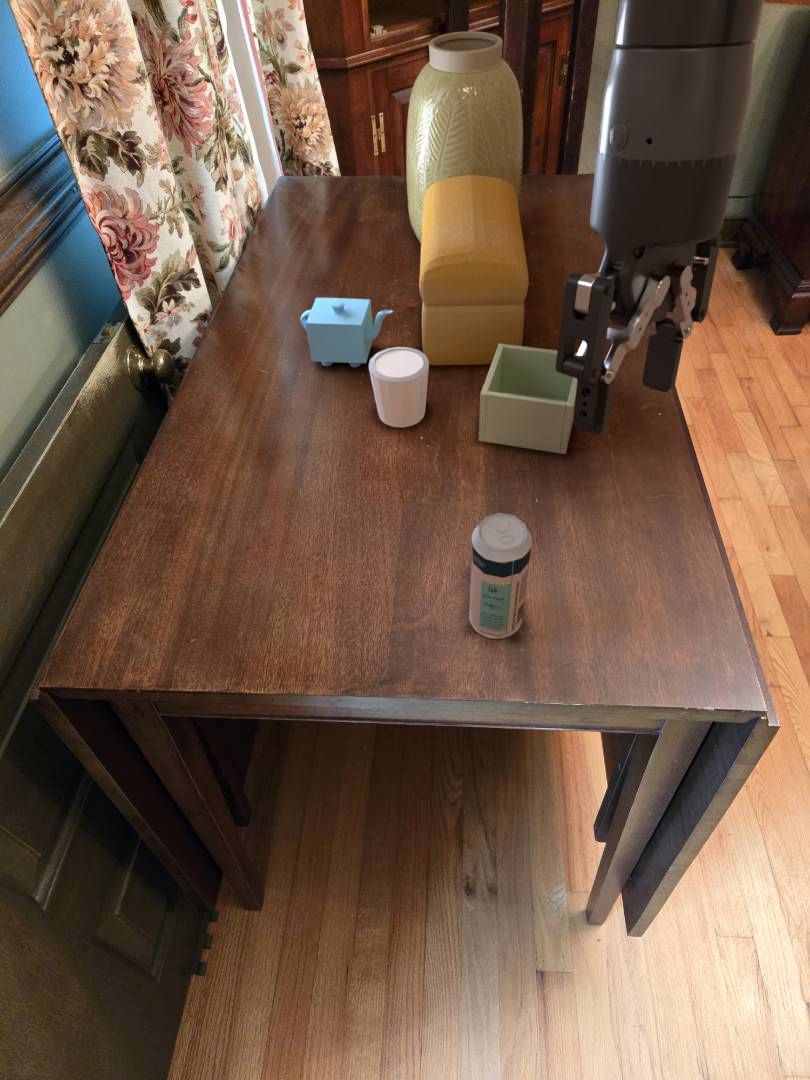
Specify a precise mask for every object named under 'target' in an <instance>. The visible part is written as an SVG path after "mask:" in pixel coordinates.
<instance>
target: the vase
mask: <svg viewBox="0 0 810 1080" xmlns="http://www.w3.org/2000/svg"><path fill="white" fill-rule="evenodd" d="M503 42H504V41H503V38H502V37H501V36H499V35H497V34H494V33H491V32H485V31H476V30H475V31H474V30H473V31H471V30H470V31H469V30H468V31H467V30H466V31H455V32H448V33H445V34H441V35H437V36H435V37H434V38H432V39H431V40H430V41H429V44H428V50H429V53H428V54H429V61H427V62H426V64H425V65H424V66H423V67H422V68H421V70H420V71H419V72H418V75H417V76H416V78H415V81H414V83H413V85H412V90H411V94H410V97H409V101H408V102H409V103H408V112H407V120H406V121H407V122H406V134H405V135H406V141H405V143H406V144H405V182H406V184H405V185H406V200H407V211H408V218H409V222H410V226H411V228H412V231H413V233H414V234H415V236H416V238H417V240H418V242H419V243H420V245H421V240H422V219H423V201H424V196H425V193H426V191H427V190H428V188H429V187H430V186H431V185H433V184H434V183H435V182H438V181H440V180H444V179H448V178H453V177H458V176H466V175H479V176H487V177H495V178H500V179H503V180H506V181H507V182H509V183H510V184H511V185H512V186H513V188H514V189H515V192H516V196H517V202H518V209H519V210H520V207H521V195H522V185H523V168H524V167H523V164H524V121H523V118H524V117H523V105H522V96H521V90H520V85H519V83H518V79H517V77H516V75H515V74H514V71H513V70H512V68H511V67H510V65H509V63H508V62H506V61H505V60H504V59H503V57H502V56H503V45H504V44H503Z"/></svg>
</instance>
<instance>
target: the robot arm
mask: <svg viewBox="0 0 810 1080" xmlns="http://www.w3.org/2000/svg"><path fill="white" fill-rule="evenodd" d="M764 3H765V0H617V7H616V16H615V26H614V33H613V34H614V35H613V44H614V46H613V47H612V52H611V56H610V57H611V58H610V62H609V63H610V64H609V67H608V72H607V76H606V81H605V85H604V88H603V89H604V90H603V94H602V100H601V101H602V102H601V110H600V120H599V130H598V140H597V148H596V155H595V166H594V176H593V184H592V185H593V186H592V195H591V204H590V213H589V226H590V228H591V230H592V231H593V233H594V234H595V235H597V236H599V237H600V238H601V239H602V242H603V243H604V245H605V249H604V253H603V257H602V260H601V264H600V266H599V268H598V272H595V273H592V274H588V273H584V272H580V271H575V270H574V271H571V272H570V273H569V275H568V276H567V279H566V281H565V282H566V283H565V288H564V289H565V290H564V296H563V297H564V298H563V306H562V312H561V313H562V314H561V321H560V329H559V335H558V344H557V359H556V371H557V372H558V373H562V374H565V375H568V376H571V377H574V378H577V389H576V398H575V407H574V408H575V409H574V416H573V418H574V419H573V424H574V426H575V428H577V429H578V430H581V431H584V432H586V433H588V434H592V435H593V436H594V435H595V436H599V435H601V434H603V433H604V432H607V430H608V429H609V425H610V424H609V423H610V417H611V412H612V411H611V410H612V405H613V404H612V403H613V396H614V390H615V383H616V380H615V377H616V374H617V373H618V371H619V369H620V366H621V364H622V362H623V360H624V358H625V356H626V354H627V353H628V352H630V351H633V350H635V349H636V348H638V346H639V343H640V341H641V339H642V337H643V335H644V333H645V331H646V329H647V328H648V327H649V326H650V328H651V330H652V331H653V332H656V333H652V334H650V335H649V337H648V342H647V349H646V355H645V361H644V367H643V372H642V380H641V382H642V385H643V386H644V387H646V388H648V389H652V390H655V391H658V392H661V393H667V392H669V391H671V390H672V389H673V388H675V386H676V382H677V376H678V371H679V366H680V362H681V358H682V352H683V347H684V340H686V339H688V338H689V337H690V335H691V334H692V331H693V328H694V323H699V324H701V323H703V321H705V319H706V317H707V314H708V309H709V305H710V299H711V293H712V288H713V283H714V277H715V273H716V267H717V261H718V257H719V250H720V245H721V240H722V235H721V233H720V231H721V230H722V228H723V225H724V222H725V217H726V211H727V206H728V201H729V197H730V192H731V187H732V183H733V179H734V173H735V168H736V163H737V159H738V153H739V149H740V146H741V145H740V144H741V141H742V135H743V130H744V126H745V121H746V116H747V112H748V106H749V102H750V95H751V88H752V77H753V65H754V54H755V51H756V50H755V49H756V42H755V41H756V40H757V37H758V33H759V29H760V24H761V18H762V13H763V10H764V9H763V8H764ZM693 288H694V289H695V291H696V293H695V295H694V291H693ZM610 322H611V324H612V325H614V326H618V327H621V328H622V329H618V328H615V327H611V326H609V325H610ZM577 340H579V341H582V342H581V344H580V346H579V347H578V350H577V352H576V347H577ZM606 345H610V349H608V352H607V355H606V357H605V359H604V355H605V349H606ZM575 353H577V355H575Z"/></svg>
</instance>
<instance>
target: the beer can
mask: <svg viewBox="0 0 810 1080" xmlns="http://www.w3.org/2000/svg"><path fill="white" fill-rule="evenodd" d="M532 545H533V538H532V534H531V532H530V530H529V529H528V527H527V525H526V523H524V522H523V521H522V520H521V519H520V518H519V517H517V516H516V515H513V514H509V513H503V512H497V513H495V514H491V515H486V516H485V517H484V518H483V519H482V521H480V523H479V524H478V525H477V526H476V527H475V528H474V529H473V532H472V534H471V562H470V563H471V566H470V592H469V593H470V594H469V595H470V596H469V613H468V619H469V620H468V621H469V622H470V625H471V627H472V629H473V630H475V632H477V633H478V634H479V635H481V636H483V637H484V638H489V639H494V640H495V639H496V640H497V639H498V640H501V639H505V638H508V637H511V636H512V635H514V634H515V633H516V632H518V630H519V629H520V627H521V625H522V622H523V616H524V615H523V614H524V608H525V600H526V592H527V585H528V584H527V583H528V576H529V569H530V560H531V553H532Z"/></svg>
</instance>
